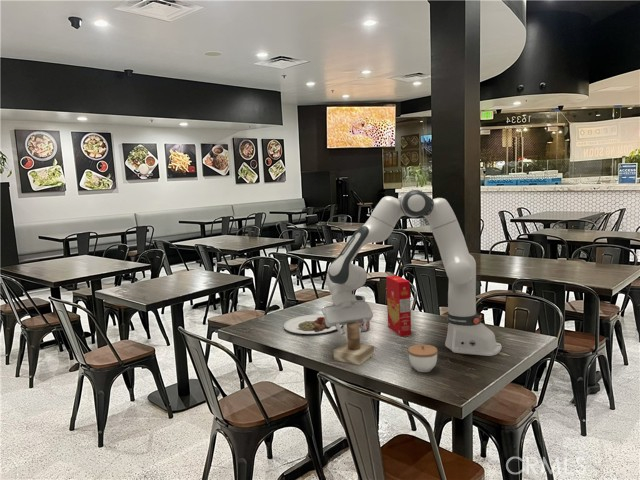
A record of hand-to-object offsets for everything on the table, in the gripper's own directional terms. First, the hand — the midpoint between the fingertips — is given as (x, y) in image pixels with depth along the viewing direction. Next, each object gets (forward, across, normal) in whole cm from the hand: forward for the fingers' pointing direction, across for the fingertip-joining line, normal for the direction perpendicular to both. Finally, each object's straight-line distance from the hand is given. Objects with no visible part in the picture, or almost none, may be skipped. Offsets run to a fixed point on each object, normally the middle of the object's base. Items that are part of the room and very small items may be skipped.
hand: (353, 332), depth 192 cm
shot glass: (-3, +6, +18) cm, 19 cm away
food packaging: (-8, +31, +23) cm, 40 cm away
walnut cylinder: (+4, 0, +5) cm, 7 cm away
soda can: (-14, +17, +30) cm, 37 cm away
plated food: (-26, -3, +42) cm, 49 cm away
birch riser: (+7, 0, +8) cm, 11 cm away
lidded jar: (+23, +19, -7) cm, 31 cm away
